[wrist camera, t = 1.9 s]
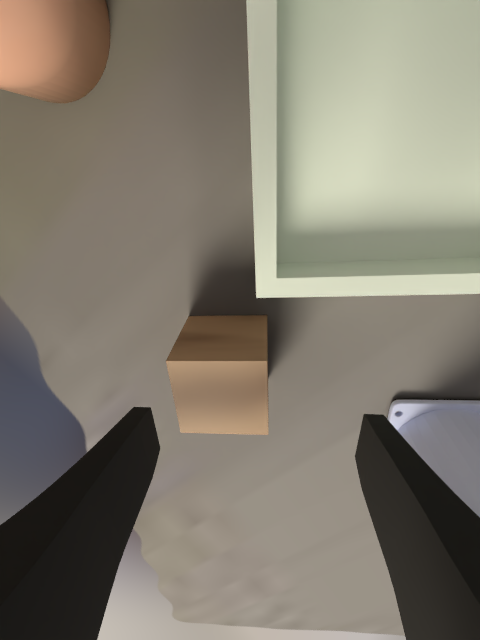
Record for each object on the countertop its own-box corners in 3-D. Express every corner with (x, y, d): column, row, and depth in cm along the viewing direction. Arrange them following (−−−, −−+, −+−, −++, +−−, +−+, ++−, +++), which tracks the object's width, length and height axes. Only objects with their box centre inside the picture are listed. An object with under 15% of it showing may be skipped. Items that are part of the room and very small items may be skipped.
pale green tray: (516, 270, 16) (565, 292, 14) (257, 277, 18) (256, 297, 15) (676, -143, 10) (827, -256, 7) (247, -82, 11) (241, -158, 8)
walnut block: (267, 377, 21) (268, 434, 17) (198, 377, 22) (180, 432, 17) (267, 314, 19) (267, 361, 14) (189, 315, 19) (166, 361, 15)
